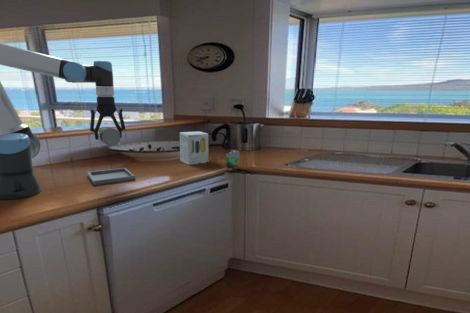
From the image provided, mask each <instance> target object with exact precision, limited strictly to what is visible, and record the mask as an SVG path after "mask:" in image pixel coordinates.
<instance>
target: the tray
mask: <svg viewBox="0 0 470 313" xmlns="http://www.w3.org/2000/svg"><path fill="white" fill-rule="evenodd" d="M86 174H87V177H88V179H89V180H90V182H91V183H92V185H93V186H99V185H107V184H115V183H121V182H128V181H129V182H130V181H136V175H135V174H133V173H132V172H131V171H130V170H128V168H126V167H118V168H113V169H111V168H109V169H104V170H103V169H101V170H93V171H87V173H86Z"/></svg>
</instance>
